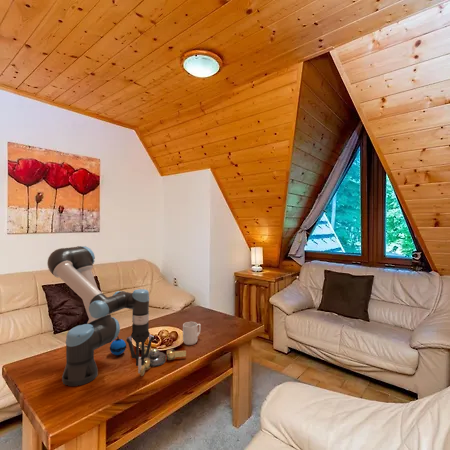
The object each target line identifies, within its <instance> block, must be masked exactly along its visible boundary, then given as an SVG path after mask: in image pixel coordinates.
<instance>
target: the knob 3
mask: <svg viewBox="0 0 450 450" xmlns="http://www.w3.org/2000/svg"><path fill="white" fill-rule="evenodd" d="M182 357H187V350H175V349H168V350H166V360H168V361H171V360H175V359H176V358H182Z"/></svg>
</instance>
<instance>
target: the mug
mask: <svg viewBox="0 0 450 450" xmlns="http://www.w3.org/2000/svg"><path fill="white" fill-rule="evenodd" d="M201 326H202V325H201V323H197V322H196V321H186V322H184V323H183V324H182V342H183V341H184V342H183V343H184V345H187V346H192V345H196V343H197V342H198V337H199V335H200V334H201V330H202V329H201Z"/></svg>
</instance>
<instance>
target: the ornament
mask: <svg viewBox="0 0 450 450" xmlns="http://www.w3.org/2000/svg"><path fill="white" fill-rule="evenodd" d="M110 343H111V344H110V346H109V351H110V353H111V354H112V355H114V356H120V355H122V354H124V352H125V351H126V349H127V342H126V340H124V339H122V338H119V336H118V337H117V338H116V339H115V340H113V341H112V342H110Z"/></svg>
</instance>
